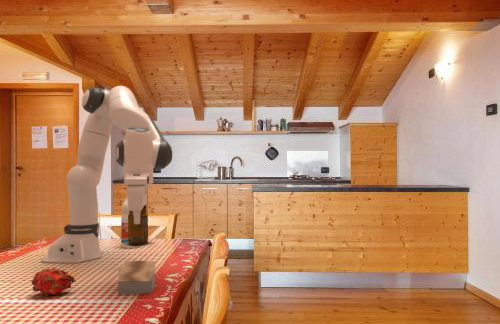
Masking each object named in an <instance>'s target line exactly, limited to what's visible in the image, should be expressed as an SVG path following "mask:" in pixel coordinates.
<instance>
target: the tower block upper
mask: <svg viewBox="0 0 500 324" xmlns="http://www.w3.org/2000/svg"><path fill="white" fill-rule="evenodd" d="M155 272H156V260H126V261H125V262H124V263H122V264H121V265H120V266H119V267H118V274H117V275H118V278H117V280H118V281H149V280H150V279H151V277H152V276H153V275H154V273H155ZM155 274H156V273H155Z"/></svg>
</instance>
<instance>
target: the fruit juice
mask: <svg viewBox="0 0 500 324" xmlns="http://www.w3.org/2000/svg"><path fill="white" fill-rule="evenodd" d="M121 210H122V214H121V221H120V222H121V225H120V227H121V229H120V231H121V232H120V233H121V234H120V246H121V248H122V249H137V248H138V249H139V248H140V247H142V246H139V247H133V246H129V245H126V244H123V243H125V242H128V215H129V208H128V200H127V195H126V196H125V199H124V201H123V203H122V204H121Z"/></svg>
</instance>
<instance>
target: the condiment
mask: <svg viewBox="0 0 500 324" xmlns="http://www.w3.org/2000/svg"><path fill="white" fill-rule="evenodd" d="M140 218H141V220H140V221H141V222H140V224H134V216H133V211H130V210H129V215H128V242H125V243H123V244H126V245H129V246H133V247H138V248H140V247H139V246H141V247H144V246H145V247H146V246H150V245H151V246H153V245H156V244H157V243H156V242H152V241H149V215H148V211H147V204H146V205H144V208H143V209H142V210H141V214H140Z"/></svg>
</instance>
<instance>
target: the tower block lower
mask: <svg viewBox="0 0 500 324" xmlns="http://www.w3.org/2000/svg"><path fill="white" fill-rule="evenodd" d="M155 283H156V273H154V275H153V276H152V277H151V279H150V280H149V281H118V282H117V296H118V295H119V296H120V295H121V296H122V295H138V294H153V291H154V288H155Z"/></svg>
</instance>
